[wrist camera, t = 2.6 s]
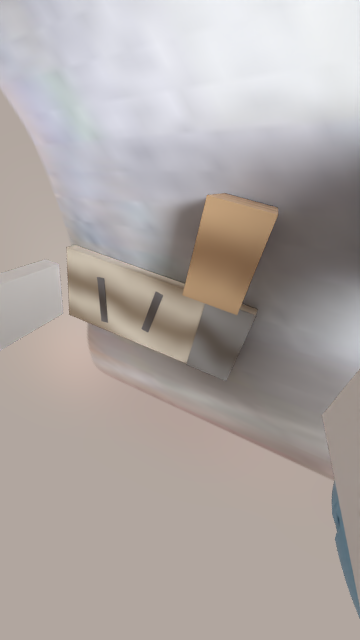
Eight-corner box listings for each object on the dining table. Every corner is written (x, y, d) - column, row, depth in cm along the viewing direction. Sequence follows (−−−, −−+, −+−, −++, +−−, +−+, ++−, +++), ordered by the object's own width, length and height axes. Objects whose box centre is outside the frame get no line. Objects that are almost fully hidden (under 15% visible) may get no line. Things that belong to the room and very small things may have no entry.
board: (74, 244, 31) (65, 247, 29) (257, 309, 26) (256, 316, 25) (76, 310, 36) (68, 315, 35) (228, 372, 32) (226, 381, 30)
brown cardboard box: (225, 193, 23) (206, 195, 17) (278, 207, 22) (278, 214, 16) (202, 272, 27) (182, 295, 21) (246, 286, 26) (237, 315, 20)
